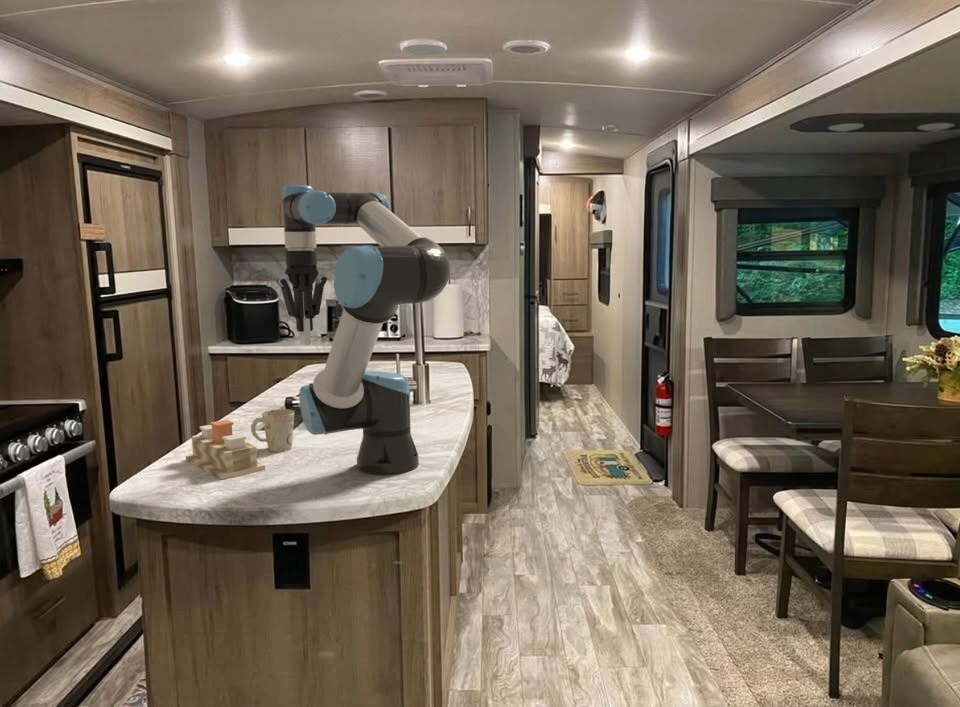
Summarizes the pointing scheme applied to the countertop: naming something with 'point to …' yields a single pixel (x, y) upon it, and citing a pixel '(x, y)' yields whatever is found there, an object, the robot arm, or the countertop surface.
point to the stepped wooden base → (223, 458)
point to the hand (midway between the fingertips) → (305, 344)
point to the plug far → (206, 431)
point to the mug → (276, 429)
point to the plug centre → (221, 430)
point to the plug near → (234, 441)
